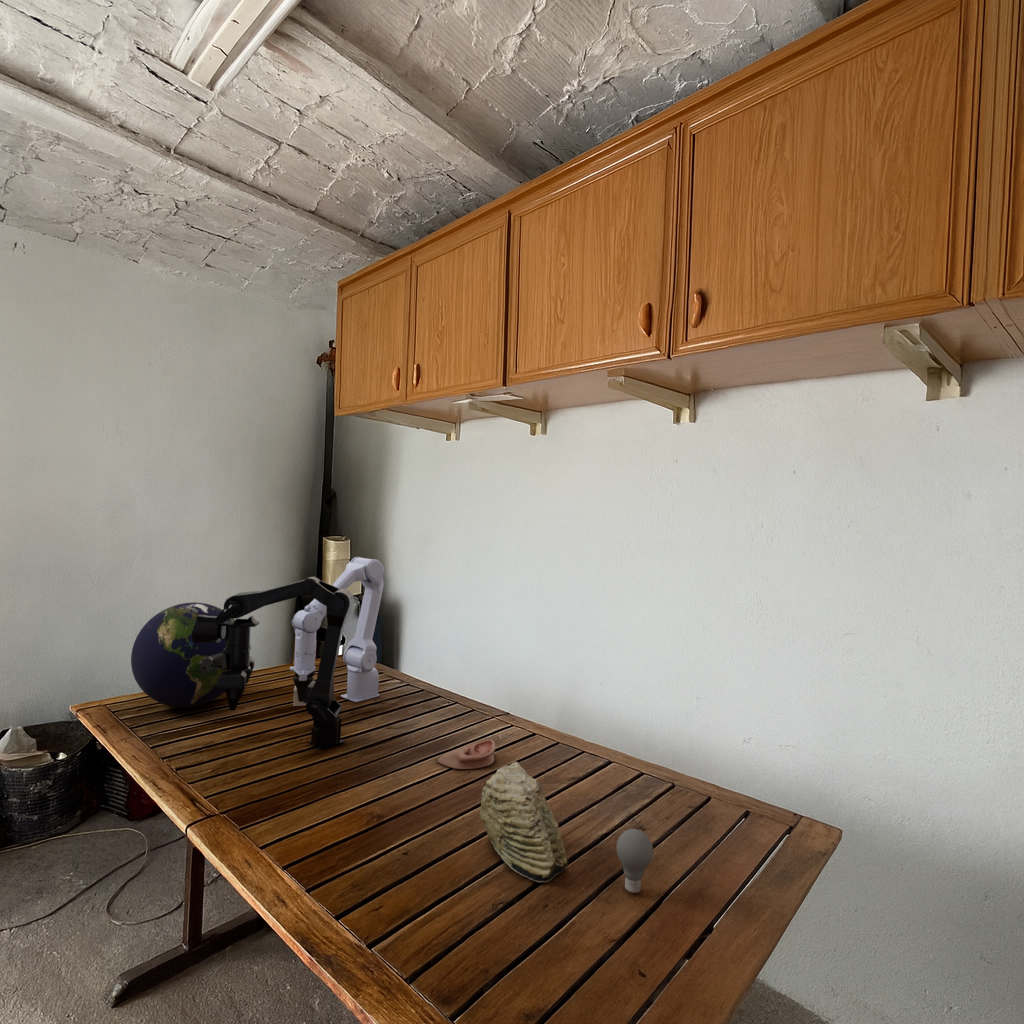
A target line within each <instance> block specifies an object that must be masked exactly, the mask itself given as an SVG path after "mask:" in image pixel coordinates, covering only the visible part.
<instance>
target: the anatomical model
mask: <svg viewBox="0 0 1024 1024" xmlns="http://www.w3.org/2000/svg"><path fill="white" fill-rule="evenodd" d="M495 751H496V743H495V741H494V740H493V739H484V740H481V741H478V742H475V743H472V744H470V745H467V746H465V747H461V748H458V749H454V750H451V751H448V752H445V753H444V754H443V755H441V756H440V757H439V758H438V759H437V762H438V763H439V764H441V765H442V766H445V767H449V768H451V769H456V770H472V769H480V768H484V767H487V766H490V765H492V764H493V763H494V762H495V756H494V753H495Z"/></svg>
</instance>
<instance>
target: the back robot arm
mask: <svg viewBox="0 0 1024 1024" xmlns="http://www.w3.org/2000/svg"><path fill="white" fill-rule="evenodd" d="M384 572H385V567H384V565H383V564H382V562H381V561H380V560H378V559H376V558H375V559H372V558H365V557H362V556H355V557H353V558H352V559H351V560H350V562H348V563H347V564H346V566H345V570H344V571H343V572H342V573H341V574H340V576H338V578H337V579H336V580H335V581H334V582H333V584H332V585H333V586H335V587H337V588H339V589H347V590H348V588H349V587H351V586H352V584H353V583H355V582H360V583H361V585H362V586H363V587H364V593H363V597H362V602H361V607H360V611H359V615H358V620H357V625H356V630H355V635H354V637H353V638H352V639H351V640H349V641H348V643H347V648H345V651H344V653H343V656H342V657H343V658H342V660H343V662H344V664H345V665H346V669H347V679H346V680H347V682H346V693H344V694H341V695H340V698H343V699H345V700H347V701H351V702H354V703H359V702H364V701H368V700H370V699H371V700H372V699H374V698H378V697H380V696H381V694H379V685H380V684H379V683H380V675H379V674H380V673H379V671H378V669H377V668H376V667H375V666H376V664H377V660H378V658H377V649H378V648H377V645H376V644H375V642H374V640H373V638H374V634H375V629H376V624H377V620H378V619H377V618H378V614H379V610H380V606H381V601H382V594H383V590H384V587H385V586H384ZM326 610H327V606H325V605H323V604H322V603H320V602H319V601H317V600H316V599H315V598H313V600H311V602H309V604H307V605H305V606H304V609H301V610H298V611H297V612H296V613H295V614H294V615H293V618H292V620H291V626H292V627H293V629H294V634H295V640H294V661H293V662H294V663H293V665H294V666H290V667H289V671H292V672H294V676H293V677H292V681H293V683H294V686H296V688H297V694H298V700H299V702H304V701H305V699H306V693H307V687H308V686H309V684H310V683H311V682H312V681H315V680H314V679H315V677H314V675H315V673H316V649H317V647H316V646H317V631H318V630H319V629H320V627H321V625H322V621H323V620H324V617H326Z"/></svg>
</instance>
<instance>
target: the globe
mask: <svg viewBox="0 0 1024 1024" xmlns="http://www.w3.org/2000/svg"><path fill="white" fill-rule="evenodd" d="M222 610H223V609H222V608H221V607H218V606H216V605H213V604H209V603H204V602H195V601H194V602H192V601H191V602H183V603H179V604H175V605H173V606H169V607H167V608H165V609H162V610H161V611H160V612H158V613H157V614H155V615H154V616H153V617H151V618H150V619H149V620H148V621H147V622H146V623H145V624H144V625H143V627H142V628H141V629H140V631H139V632H138V633H137V635H136V637H135V640H134V642H133V645H132V648H131V654H130V666H131V671H132V675H133V677H134V680H135V682H136V684H137V685H138V687H139V688H140V690H142V692H143V693H144V694H145V695H146V696H147V697H149V698H150V699H152V700H153V701H155V702H157V703H158V704H162V705H164V706H168V707H173V708H194V707H197V706H201V705H205V704H207V703H210V702H212V701H214V700H216V699H217V698H219V697H220V696H222V695H223V694H224V693H225V691H224V690H222V689H220V688H219V687H217V678H218V677H219V675H220V674H221V673H222V672H223V671H221V668H220V669H217V670H215V671H212V672H209V673H208V674H206V675H203V673H202V671H201V670H200V669H199V668H200V665H199V663H200V661H201V660H202V659H204V658H207V657H209V656H213V655H216V654H218V653H222V651H223V650H224V649H225V641H226V635H225V638H224V639H221V641H220V642H219V643H201V642H194V641H193V639H192V630H193V627H194V624H195V622H196V617H197V616H199V615H207V616H218V615H219V614H220V612H221V611H222ZM235 620H236V619H234V618H231V619H229V620H227V621H225V622H234V621H235ZM226 671H228V670H226Z"/></svg>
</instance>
